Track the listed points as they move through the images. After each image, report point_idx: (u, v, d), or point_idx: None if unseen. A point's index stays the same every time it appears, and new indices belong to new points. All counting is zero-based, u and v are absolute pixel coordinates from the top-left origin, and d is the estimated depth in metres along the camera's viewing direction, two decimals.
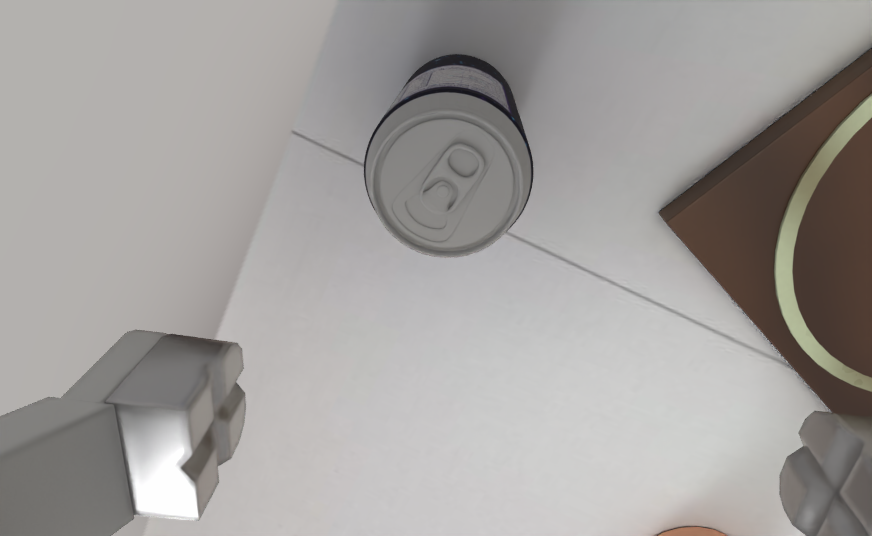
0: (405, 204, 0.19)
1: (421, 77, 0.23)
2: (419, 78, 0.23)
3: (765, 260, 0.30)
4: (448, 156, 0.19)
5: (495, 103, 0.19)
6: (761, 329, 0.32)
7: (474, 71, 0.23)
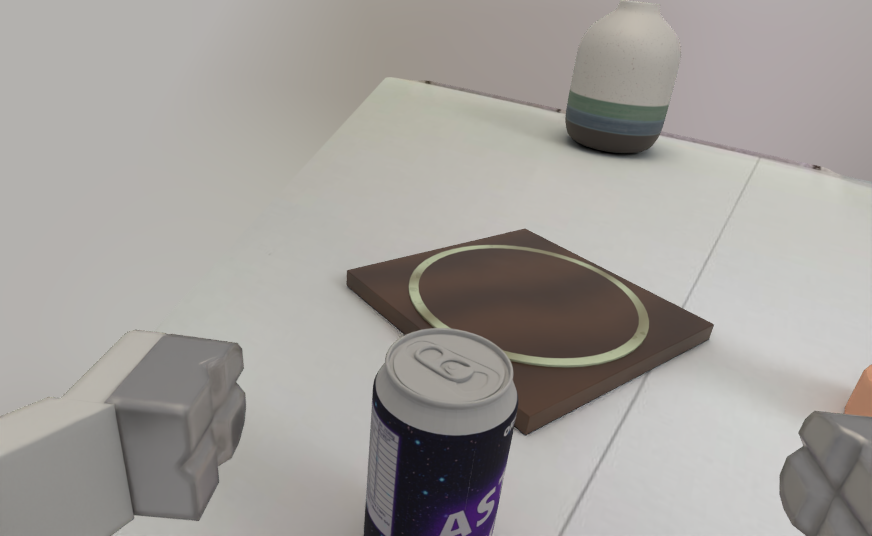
0: (463, 392, 0.22)
1: (369, 483, 0.24)
2: (370, 487, 0.24)
3: (555, 371, 0.41)
4: (424, 359, 0.23)
5: None
6: (613, 373, 0.42)
7: None
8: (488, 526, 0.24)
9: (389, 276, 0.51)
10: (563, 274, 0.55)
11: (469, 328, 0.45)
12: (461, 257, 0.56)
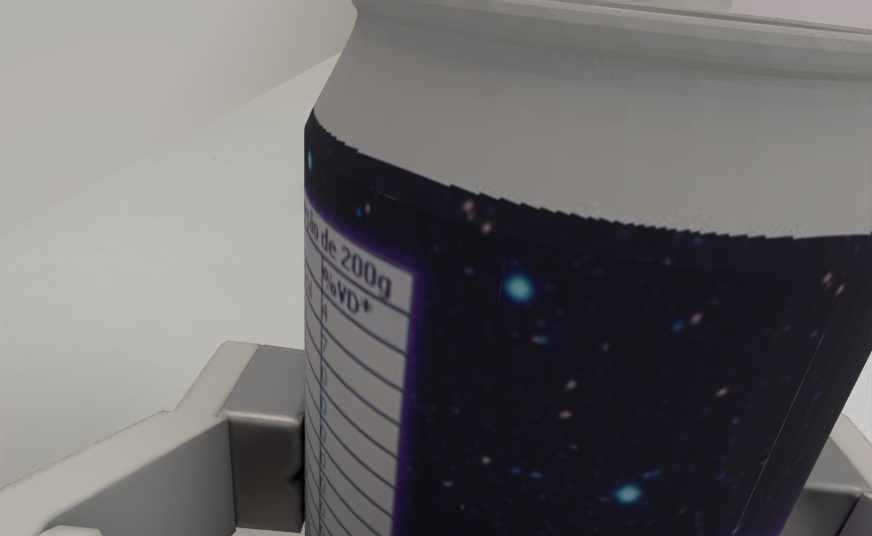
0: None
1: (306, 504, 0.07)
2: (308, 515, 0.07)
3: None
4: None
5: None
6: None
7: None
8: None
9: None
10: None
11: None
12: None
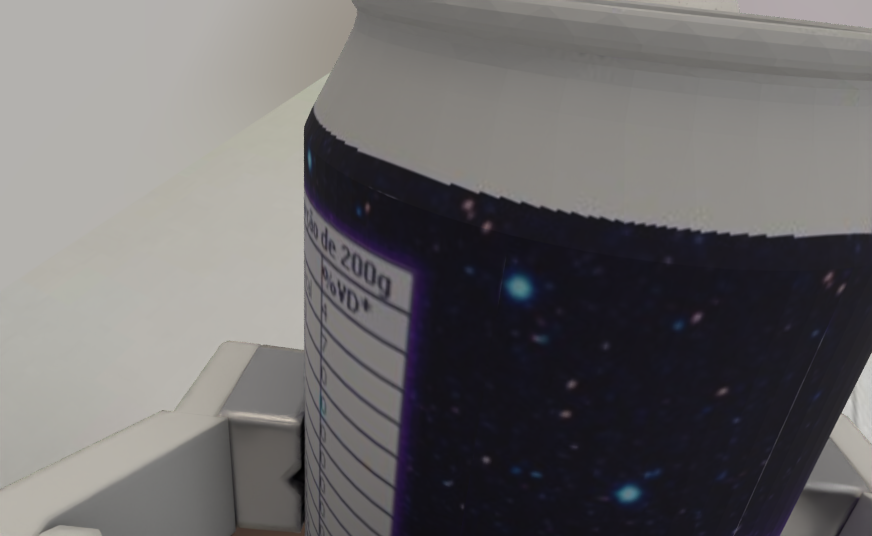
0: None
1: (306, 504, 0.07)
2: (308, 515, 0.07)
3: None
4: None
5: None
6: None
7: None
8: None
9: None
10: None
11: None
12: None
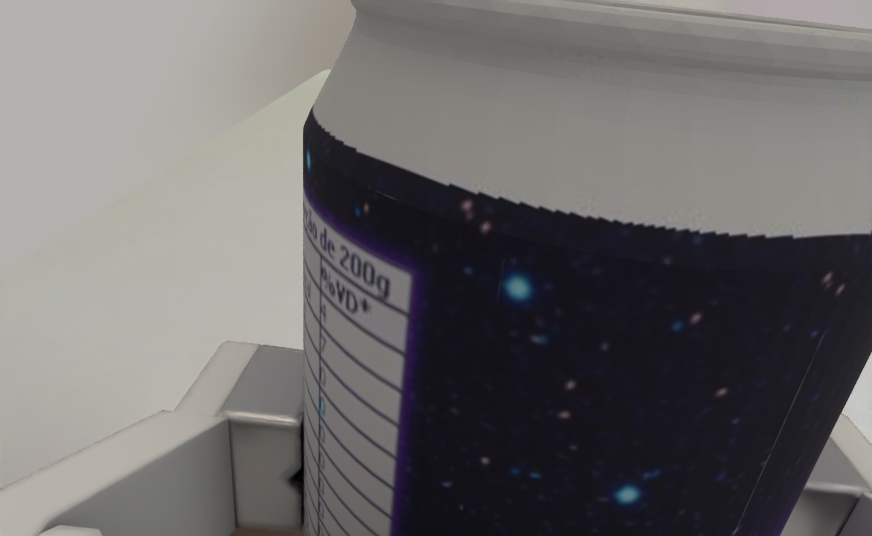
0: None
1: (305, 505, 0.07)
2: (307, 516, 0.07)
3: None
4: None
5: None
6: None
7: None
8: None
9: None
10: None
11: None
12: None
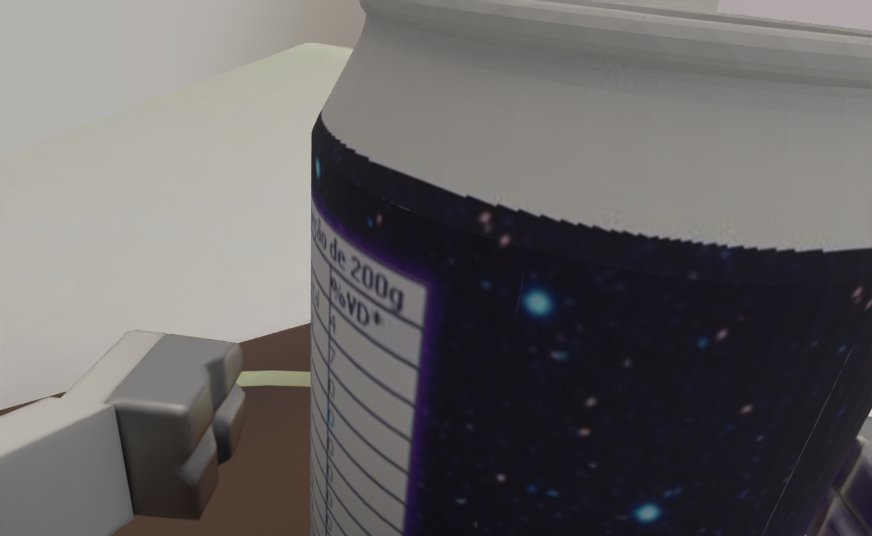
0: None
1: (312, 516, 0.07)
2: (314, 527, 0.07)
3: None
4: None
5: None
6: None
7: None
8: None
9: None
10: None
11: None
12: None
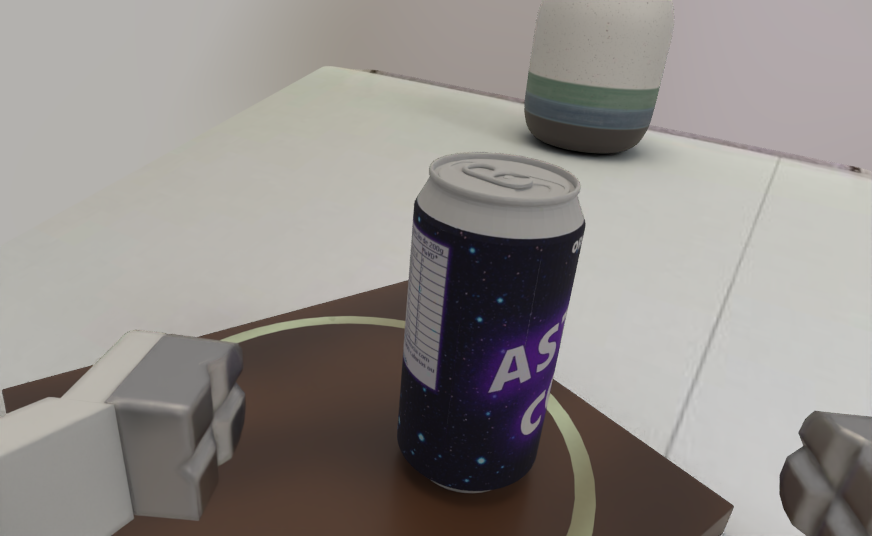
0: (524, 196, 0.18)
1: (408, 329, 0.21)
2: (409, 333, 0.21)
3: None
4: None
5: None
6: None
7: None
8: (548, 378, 0.21)
9: None
10: None
11: None
12: (260, 348, 0.30)
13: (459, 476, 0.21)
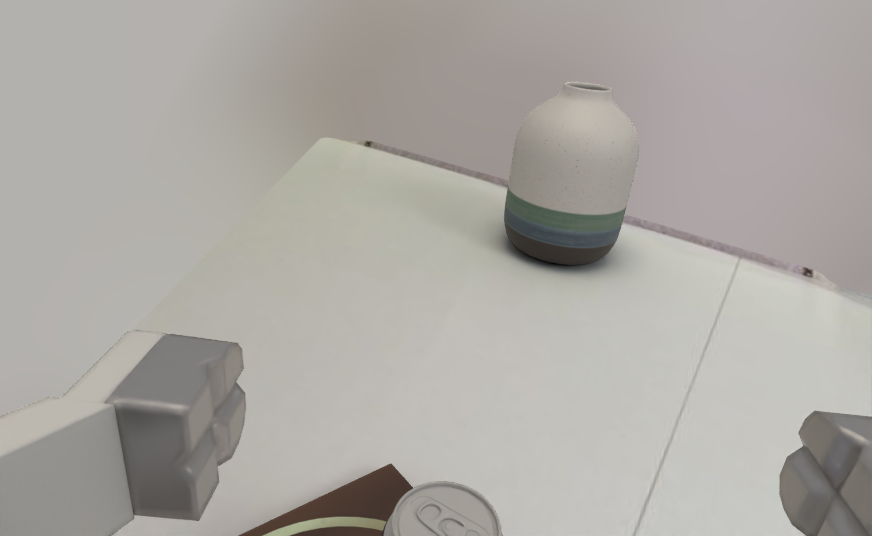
0: None
1: None
2: None
3: None
4: (424, 519, 0.27)
5: None
6: None
7: None
8: None
9: None
10: None
11: None
12: None
13: None
